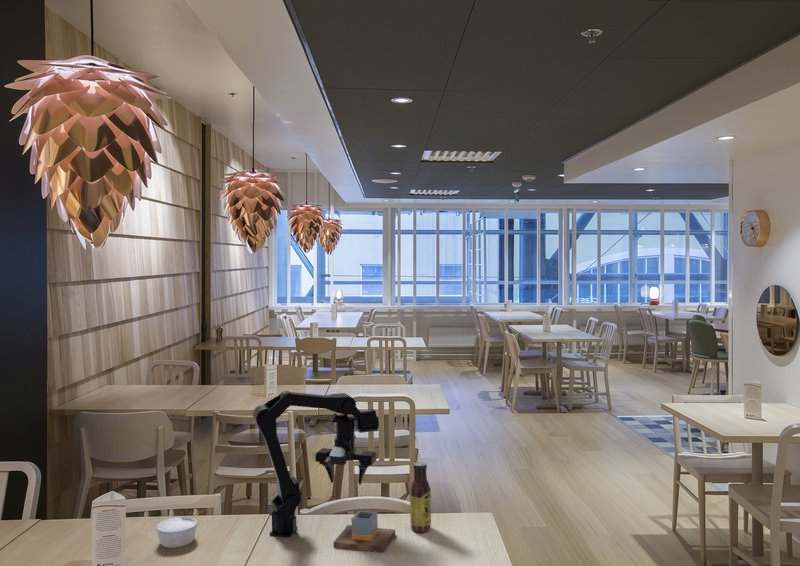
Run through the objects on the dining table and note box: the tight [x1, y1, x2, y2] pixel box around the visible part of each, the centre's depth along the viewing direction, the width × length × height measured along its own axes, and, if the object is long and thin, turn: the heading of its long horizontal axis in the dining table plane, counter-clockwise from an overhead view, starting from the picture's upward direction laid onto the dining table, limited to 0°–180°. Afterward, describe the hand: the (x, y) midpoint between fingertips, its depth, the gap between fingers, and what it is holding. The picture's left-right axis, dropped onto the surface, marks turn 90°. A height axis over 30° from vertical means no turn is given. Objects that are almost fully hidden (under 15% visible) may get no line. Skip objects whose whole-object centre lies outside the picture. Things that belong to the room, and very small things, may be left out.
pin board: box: [333, 524, 396, 553], centre depth 185 cm, size 15×12×5 cm
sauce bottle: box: [409, 461, 432, 533], centre depth 193 cm, size 6×6×20 cm
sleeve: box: [350, 510, 379, 541], centre depth 185 cm, size 6×6×6 cm
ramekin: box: [156, 516, 198, 549], centre depth 187 cm, size 11×11×5 cm
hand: (346, 483), depth 199 cm, fingers open, 9 cm apart
